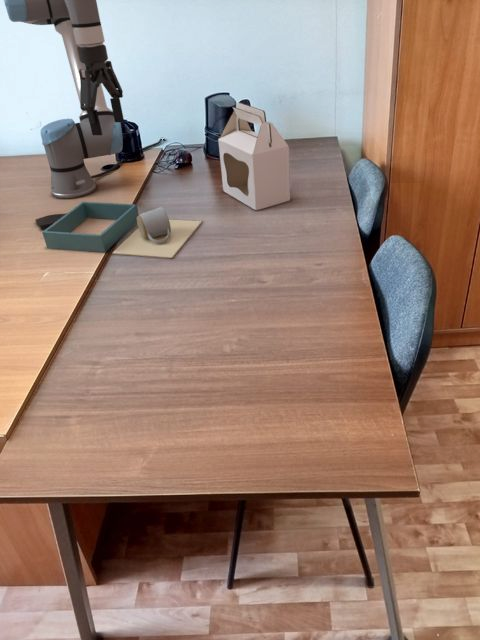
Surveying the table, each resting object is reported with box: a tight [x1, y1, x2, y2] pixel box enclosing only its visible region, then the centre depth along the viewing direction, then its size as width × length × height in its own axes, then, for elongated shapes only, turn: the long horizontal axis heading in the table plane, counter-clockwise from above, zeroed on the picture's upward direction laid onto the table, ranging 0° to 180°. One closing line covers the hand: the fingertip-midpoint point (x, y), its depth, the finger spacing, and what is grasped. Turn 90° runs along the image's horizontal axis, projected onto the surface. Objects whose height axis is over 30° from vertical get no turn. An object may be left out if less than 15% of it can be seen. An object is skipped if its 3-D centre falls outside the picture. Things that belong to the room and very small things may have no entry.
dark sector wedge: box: [34, 212, 68, 231], centre depth 169 cm, size 8×14×2 cm, turn 120°
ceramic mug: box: [136, 206, 171, 244], centre depth 152 cm, size 11×8×8 cm
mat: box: [111, 218, 203, 260], centre depth 156 cm, size 24×18×1 cm
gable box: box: [217, 102, 291, 211], centre depth 169 cm, size 22×13×28 cm, turn 32°
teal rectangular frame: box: [41, 201, 140, 253], centre depth 159 cm, size 23×19×5 cm
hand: (108, 128), depth 154 cm, fingers open, 13 cm apart
